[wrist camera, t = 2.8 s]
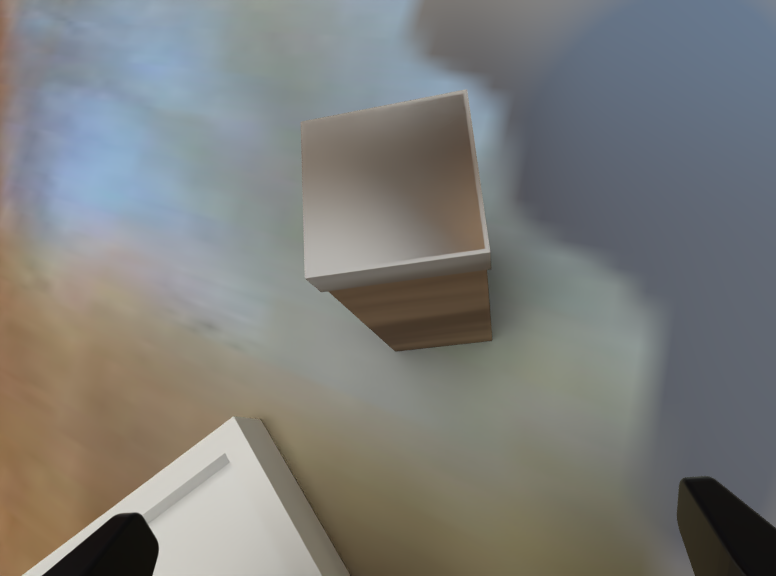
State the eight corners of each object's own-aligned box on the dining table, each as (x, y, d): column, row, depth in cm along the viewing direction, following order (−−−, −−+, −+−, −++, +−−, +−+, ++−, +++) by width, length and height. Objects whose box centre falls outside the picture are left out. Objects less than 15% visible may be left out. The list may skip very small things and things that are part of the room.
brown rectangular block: (495, 342, 22) (489, 252, 12) (393, 353, 23) (304, 278, 12) (481, 246, 23) (466, 89, 13) (386, 260, 24) (300, 121, 14)
